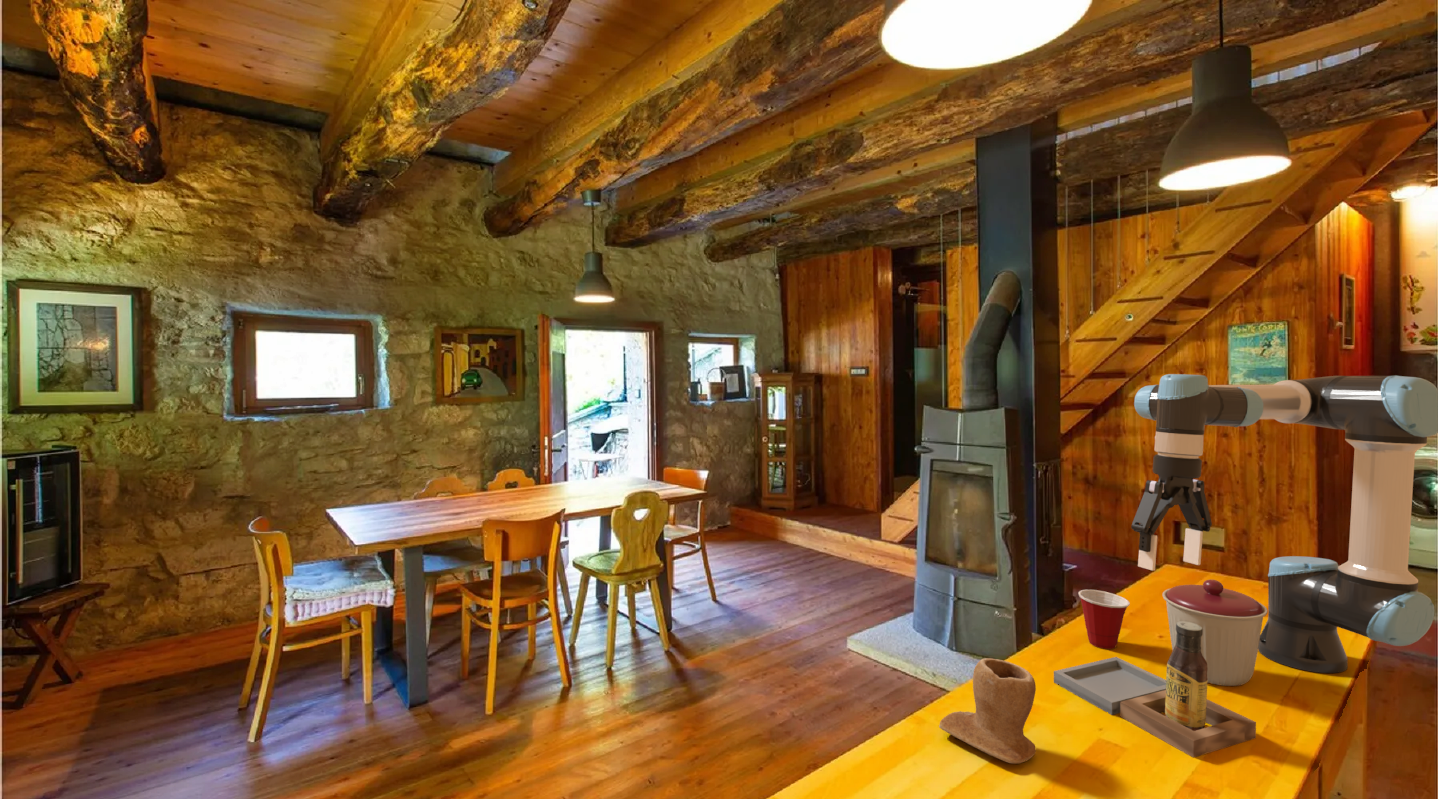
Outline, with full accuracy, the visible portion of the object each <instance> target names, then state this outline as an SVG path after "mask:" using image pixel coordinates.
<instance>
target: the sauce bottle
mask: <svg viewBox="0 0 1438 799" xmlns="http://www.w3.org/2000/svg"><path fill="white" fill-rule="evenodd" d="M1176 632H1177V635H1176V645H1175V647H1174V649H1172V651H1171V654H1170V656H1169V658H1168V660H1167V663H1166V678H1165V680H1166V699H1165V712H1164V713H1165V714H1164V715H1165V716H1166V717H1168V718H1170V719H1172V720H1174V721H1175V722H1177V723H1179V724H1181V725H1183V726H1185V727H1187V728H1189V729H1191V730H1193V731H1196V730H1200V729H1203V728H1206V701H1207V700H1208V683H1207V682H1208V679H1207V670H1208V668H1207V662H1206V660H1205V659H1204V657H1203V655H1202V653H1201V636H1202V635H1203V629H1202V627H1201V626H1199V625H1197V624H1195V623H1191V622H1185V621H1180V622H1177V623H1176Z"/></svg>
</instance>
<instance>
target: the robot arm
mask: <svg viewBox="0 0 1438 799" xmlns="http://www.w3.org/2000/svg"><path fill="white" fill-rule="evenodd" d="M1208 381H1209V380H1208V376H1206V375H1202V374H1183V373H1182V374H1181V373H1180V374H1179V373H1177V374H1176V373H1168V374H1165V375H1162V376H1161V377H1160V379H1159V384H1153V385H1150V384H1149V385H1145V386H1143V387H1141V388H1140V389H1138V390H1137V392H1136V394H1135V396H1134V402H1133V405H1134V409H1135V412H1137V414H1138V415H1139V416H1140V418H1141V417H1142V418H1144V419H1148V420H1152V421H1156V423H1155V436H1154V452H1156V453H1157V454H1155V455H1153V460H1152V462H1153V463H1152V473H1153V474H1154V475H1155V474H1156V475H1158V480H1157V481H1155V480H1151V479H1150V480H1149V479H1147V480H1146V482H1145V485H1144V486H1145V487H1144V492H1143V495H1142V498H1141V500H1140V502H1139V506H1138V507H1137V511H1136V512H1135V514H1134V515H1135V516H1134V518H1133V521H1132V524H1131V529H1132V531H1134V532H1137V533H1139V537H1138V538H1139V542H1138V559H1137V567H1139V568H1142V569H1146V570H1150V571H1156V560H1157V559H1156V558H1157V548H1158V535H1156V534H1155V533H1156V532H1157V530H1158V528H1159V526H1160V524H1161V523H1162V521H1163V519H1164V518H1165V516H1166V514H1167V513H1168V511H1169V509H1171V508H1172V509H1173V508H1174V507H1175V506H1178V507H1179V509H1180V512H1181V513H1182V515H1183V518H1184V520H1186V523H1187V525H1188V527H1189V528H1188V527H1187V528H1185V532H1184V535H1185V536H1184V545H1183V558H1182V561H1183V562H1185V563H1189V564H1192V565H1196V566H1200V565H1201V562H1202V561H1201V559H1202V547H1203V538H1204V537H1203V534H1204V532H1207V533H1209V532H1210V530H1211V527H1212V524H1213V522H1212V518H1211V515H1210V510H1209V509H1210V508H1209V506H1208V502H1207V498H1206V495H1205V494H1206V493H1205V480H1199V478H1200V477H1201V476H1202V465H1203V460H1202V459H1201V458H1199V457H1201V456H1203V455H1204V453H1203V451H1204V436H1205V435H1204V434H1205V429H1206V427H1205V426H1217V427H1218V426H1219V427H1220V426H1221V427H1233V428H1239V427H1248V426H1252V425H1254V424H1255V423H1257V422H1258V421H1259V420H1275V421H1277V422H1279V423H1283V424H1298V425H1305V426H1306V425H1307V426H1315V427H1320V428H1326V429H1333V430H1341V431H1343V430H1344V432H1345V434H1344V441H1346V443H1348V444H1349V445H1351V446H1352V448H1354V453H1353V454H1354V455H1353V470H1352V472H1353V473H1352V486H1351V488H1352V489H1351V490H1352V491H1351V504H1350V505H1351V508H1350V520H1349V522H1350V525H1349V539H1348V540H1349V541H1348V542H1349V543H1348V560H1347V561H1346V562H1344V563H1341V565H1340V564H1338V562H1337V561H1335V560H1332V559H1329V558H1322V557H1316V556H1315V557H1314V556H1300V555H1299V556H1296V555H1292V556H1290V555H1289V556H1279V557H1275V558H1273V559H1271V561H1270V562H1269V568H1268V574H1267V577H1268V589H1267V590H1268V596H1267V597H1268V599H1267V600H1268V604H1267V607H1268V609H1267V611H1268V612H1267V614H1268V615H1267V616H1268V617H1267V621H1266V623H1265V625H1264V626H1263V629H1262V630H1261V633H1260V640H1259V646H1258V652H1259V653H1260V654H1261V655H1262V656H1264V657H1265V658H1267V659H1269V660H1270V661H1273V662H1276V663H1278V664H1281V665H1283V666H1284V665H1285V666H1287V667H1291V668H1293V669H1294V668H1295V669H1298V670H1303V671H1308V672H1314V673H1320V674H1321V673H1323V674H1336V673H1342V672H1345V671H1346V670H1347V669H1348V656H1347V654H1346V650H1345V649H1344V646H1343V643H1342V640H1341V639H1340V636H1339V633H1338V628H1340V629H1341V630H1342V629H1343V630H1346V631H1349V632H1352V633H1355V634H1357V635H1359V636H1363V637H1365V638H1367V639H1370V640H1371V641H1375V642H1381V643H1384V644H1387V645H1391V646H1395V647H1405V646H1409V645H1412V644H1414V643H1416V642H1418V641H1420V639H1422V638H1423V637H1424V636H1425V635H1426V634H1427V633H1428V631H1429V630H1430V628H1431V626H1432V624H1433V621H1434V618H1435V605H1434V603H1433V602H1432V599H1431V598H1430V597H1429V596H1427V595H1426V594H1425V593H1423V592H1421V591H1418V590H1419V579H1418V578H1417V577H1416V576H1414V574H1412V573H1411V572H1410V570H1409V555H1410V539H1411V526H1412V525H1411V523H1412V508H1413V507H1412V506H1413V505H1412V503H1413V490H1414V488H1413V487H1414V474H1415V460H1416V458H1415V456H1416V452H1417V451H1419V450H1420V449H1422V448H1424V447H1425V446H1427V444H1428V438H1429V437H1433V436H1435V435H1437V434H1438V388H1437V386H1436V385H1435V384H1434V383H1433V382H1430V381H1429V380H1428V379H1424V378H1422V377H1416V376H1402V375H1396V374H1395V375H1333V376H1332V375H1329V376H1322V377H1321V376H1320V377H1314V378H1313V377H1311V378H1304V379H1303V378H1301V379H1286V380H1280V381H1277V382H1276V383H1274V384H1215V385H1214V384H1213V385H1212V384H1209V382H1208Z"/></svg>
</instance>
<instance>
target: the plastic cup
mask: <svg viewBox="0 0 1438 799" xmlns="http://www.w3.org/2000/svg"><path fill="white" fill-rule="evenodd" d="M1078 596H1079V598H1080V601H1081V607H1082V612H1083V618H1084V624H1085V629H1086V633H1087V638H1088V642H1089V644H1090V645H1092V646H1093V647H1096V648H1099V649H1106V650H1113V649H1116V648H1117V645H1118V641H1119V636H1120V634H1121V630H1122V624H1123V620H1124V617H1125V616H1124V615H1125V613H1126V610H1127V608H1128V607H1129V606H1130V601H1129V600H1128V599H1126V598H1125V597H1122V595H1121V596H1120V595H1118V594H1115V593H1112V592H1107V591H1104V590H1097V589H1082V590H1079V591H1078Z"/></svg>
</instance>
